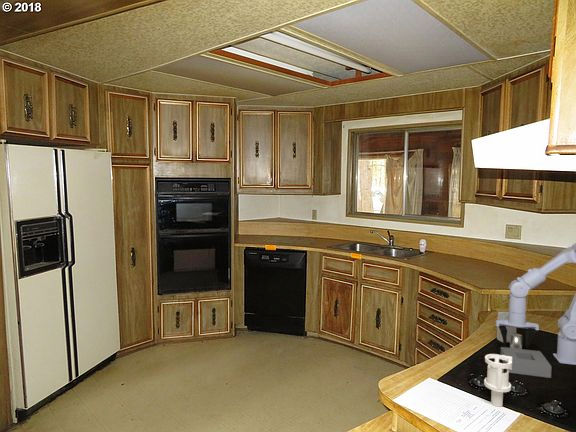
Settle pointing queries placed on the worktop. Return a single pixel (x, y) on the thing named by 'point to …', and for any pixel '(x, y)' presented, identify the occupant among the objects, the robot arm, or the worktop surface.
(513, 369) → the socket block
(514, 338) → the peg
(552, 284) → the worktop surface
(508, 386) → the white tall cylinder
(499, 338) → the skincare box
